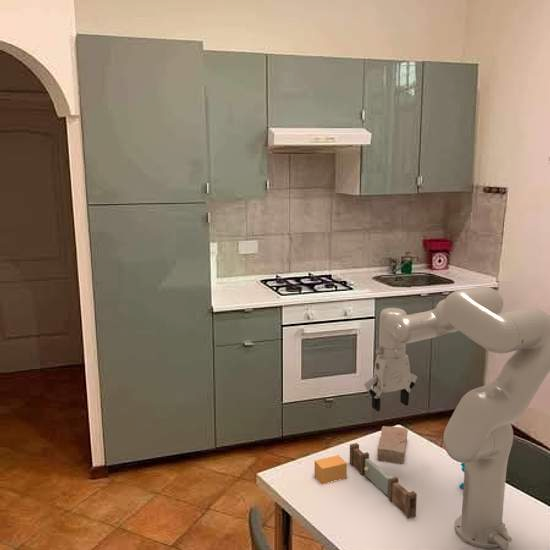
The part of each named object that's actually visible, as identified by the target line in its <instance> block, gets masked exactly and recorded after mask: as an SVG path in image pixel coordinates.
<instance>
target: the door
mask: <svg viewBox="0 0 550 550" xmlns="http://www.w3.org/2000/svg"><path fill="white" fill-rule="evenodd" d="M364 470H365V475H364V476H366V478H367V479H368V480H370V481H371V482H372V483H373V484H374V485H375V486H376V487H377V488H378V489H380V491H381V492H383V493H384V494H385V495H386V496H388V497H389V479H390V478H392V477H391V476H390V475H389V474H387V473H386V472H385V471H384V470H383V469H381V468H380V467H379V466H378V465H377V464H376V463H375V462H373V461H372V460H371V459H370V457H369V458H368V459H365V468H364Z"/></svg>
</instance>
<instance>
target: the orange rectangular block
mask: <svg viewBox="0 0 550 550" xmlns="http://www.w3.org/2000/svg"><path fill="white" fill-rule="evenodd" d="M347 465H348V463H347V462H346V460H344V459H343V458H342V457H341V456H340V455H333V456H328V457H324V458H320V459H317V460H314V468H313V469H314V471H313V473H314V475H315V476H316V477H317V478H318V479H317V478H316V477H315V476H314V475H313V476H314V477H315V478H316V479H317V480H318V481H319V482H320V483H321V485H324V483H325V484H329V483H332V482H331V481H333V482H335V481H334V480H337V481H340V480H339V479H341V480H343V479H342V478H345V479H348V477H347V473H348V472H347ZM328 482H329V483H328Z"/></svg>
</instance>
